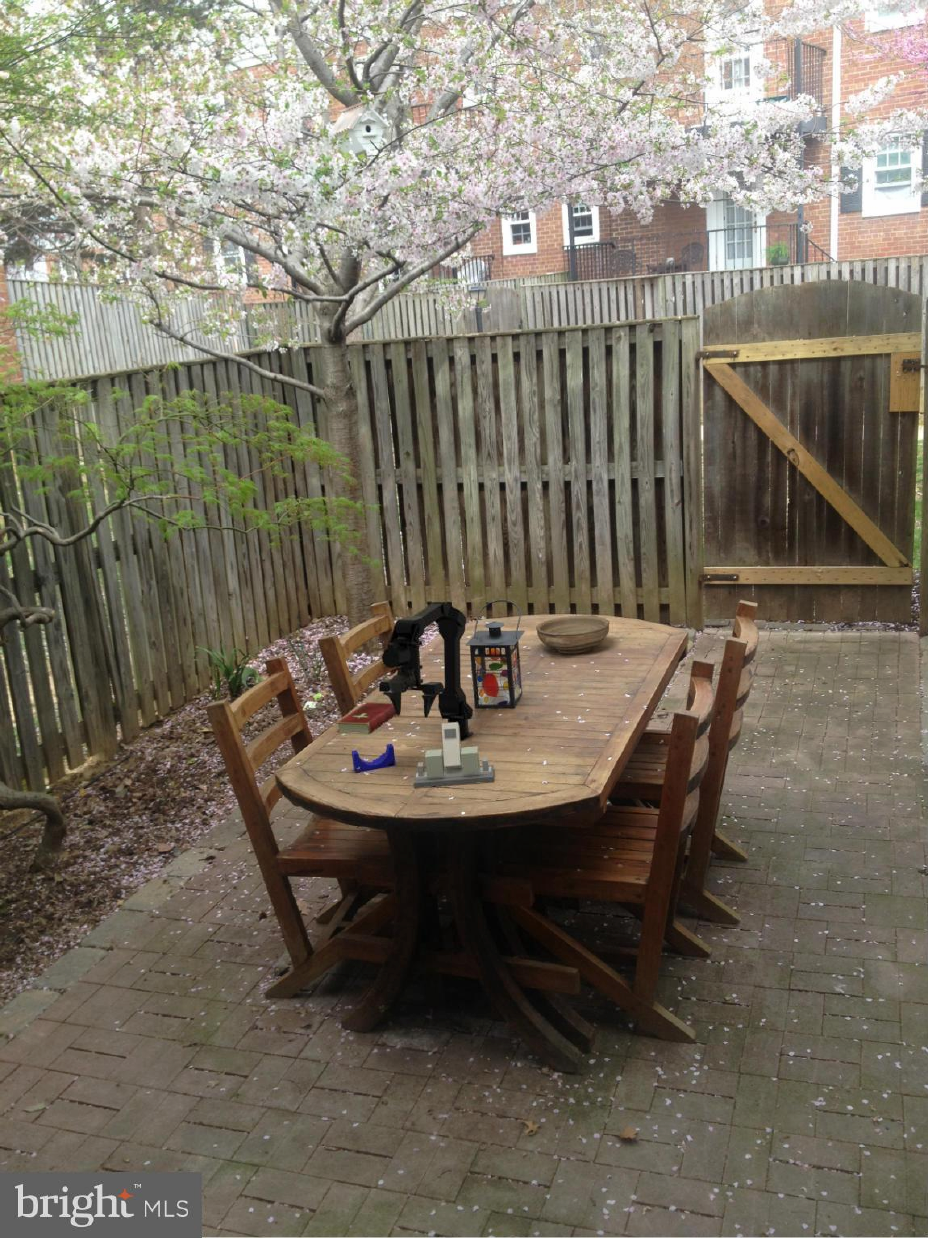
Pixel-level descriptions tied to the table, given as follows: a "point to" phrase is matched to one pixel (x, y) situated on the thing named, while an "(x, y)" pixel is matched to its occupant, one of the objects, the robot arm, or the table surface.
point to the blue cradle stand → (374, 761)
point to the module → (451, 745)
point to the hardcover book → (367, 717)
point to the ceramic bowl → (573, 633)
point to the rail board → (453, 769)
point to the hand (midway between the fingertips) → (412, 716)
